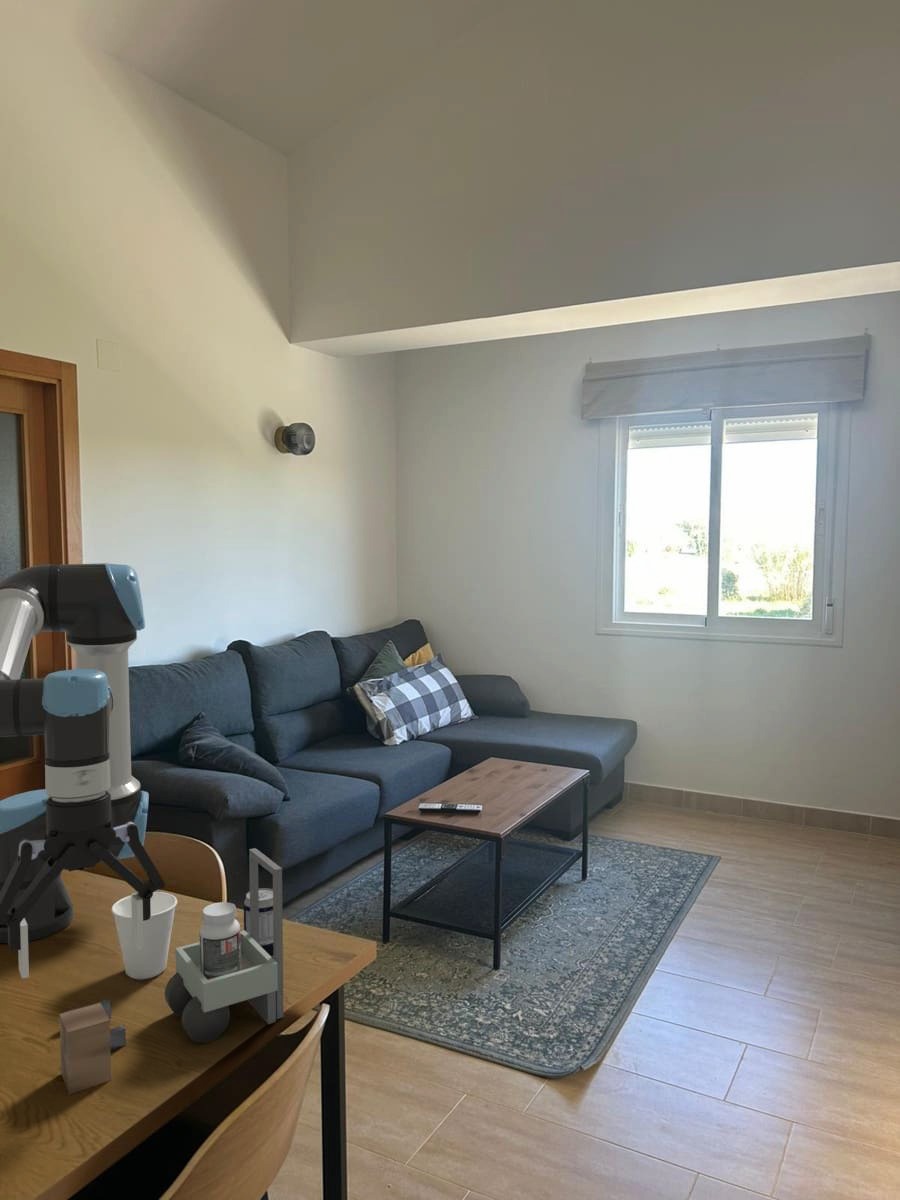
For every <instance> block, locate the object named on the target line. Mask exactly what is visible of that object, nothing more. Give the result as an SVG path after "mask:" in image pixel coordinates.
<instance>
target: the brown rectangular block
mask: <svg viewBox="0 0 900 1200" xmlns="http://www.w3.org/2000/svg"><path fill="white" fill-rule="evenodd" d="M110 1029H111V1021H110V1019H109V1018H108V1016H107V1014H106V1012H105V1010H104V1008H103V1006H102V1004H101V1003H98V1004H94V1005H91V1006H87V1007H84V1008H80V1009H76V1010H73V1011H69V1012H66V1013H65V1012H63V1013H59V1035H60V1036H59V1038H60V1039H59V1040H60V1071H61V1072H60V1074H61V1077H62V1079H63V1082H64V1084H65V1087H66V1090H67V1092H68V1095H71V1094H74V1093H77V1092H80V1091H84V1090H86V1089H89V1088H93V1087H96V1086H99V1085H102V1084H104V1083H107V1082H111V1081H112V1061H111V1059H112V1058H111V1057H112V1055H111V1050H110Z"/></svg>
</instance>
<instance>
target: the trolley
mask: <svg viewBox="0 0 900 1200" xmlns="http://www.w3.org/2000/svg"><path fill="white" fill-rule="evenodd" d="M248 851H249V854H248V860H249V861H248V862H249V863H248V864H249V867H248V869H249V892H250V935H249V934H248V933H247V932H246V931H245V930H244V929H243V930H240V944H241V971H237V972H234V973H230V974H227V975H223V976H220V977H216V978H213V979H209V980H207V979H206V977H205V976H204V975H203V974H202V972H201V971H200V941H197V942H195V943H194V942H193V943H191V944H186V945H182V946H178V947H175V973H174V975H172V977H171V978H170V979H169V980H168V981H167V984H166V987H165V988H164V989H165V990H164V999H165V1002H166V1003H167V1005H168V1007H169V1008H170V1010H171V1011H172V1013H174V1014H175V1015H176V1016H179V1017H181V1025H182V1027H183V1029H184V1031H185V1032H186V1034H187V1035H188V1036H189V1038H190V1039H191V1040H192V1041H194V1042H195V1043H198V1044H208V1043H210V1042H213V1041H215V1040H216V1039H219V1037H220V1036H221V1035H223V1033H224V1032H225V1031H226V1029H227V1027H228V1025H229V1023H230V1019H231V1010H230V1007H229V1006H230V1005H234V1004H238V1003H241V1002H245V1001H247V1003H249V1004H250V1005H251V1006H252V1007H253V1009H254V1010H255V1011H256V1012H257V1013H258V1015H259V1016H260V1017H261V1018H262V1019H263V1020H264V1022H265V1023H266V1024H267V1025H270V1024H274V1023H276V1022H277V1020H279V1019H282V1018H284V1014H285V1013H284V947H283V946H284V945H283V944H284V941H283V940H284V939H283V937H284V935H283V930H284V929H283V927H284V925H283V923H284V922H283V868H282V867H281V866H280V865H278V864H277V863H276V862H274V861H273V860H272V859H270V858H269V857H268V856H267V855H265V854H264V853H263V852H261V851H260V850H259V849H257V848H256V847H255V848H250V849H249V850H248ZM259 865H260V866H262V868H264V869H265V870H266V871H268V872H269V873H270V874H271V875H272V889H273V945H274V959H273V958H272V957H271V956H270V955H269V954H268V953H267V952H266V951H265V950H264V949H263V948H262V947H261V946H260V945H259V891H258V889H259Z"/></svg>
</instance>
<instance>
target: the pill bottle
mask: <svg viewBox="0 0 900 1200" xmlns="http://www.w3.org/2000/svg"><path fill="white" fill-rule="evenodd" d="M236 917H237V907H236V904H234V903H232V902H226V901H225V902H224V901H223V902H215V903H212V904H211V903H210V904H208V905H206V906H205V907H204V908H203V909H202V921H203V923H202V924H201V925H200V928H199V942H200V971H201V972H202V974H203V975H204V976H205V977H206V979H207V980H209V979H213V978H216V977H220V976H223V975H227V974H230V973H234V972H237V971H241V944H240V931H241V927H240V926H241V925H240V922H239V921H238V920H237V919H236Z"/></svg>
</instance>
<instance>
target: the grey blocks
mask: <svg viewBox="0 0 900 1200" xmlns="http://www.w3.org/2000/svg"><path fill="white" fill-rule="evenodd" d="M98 1003H101V1004H102V1006H103V1008H104V1010H105V1012H106V1014H107V1016H108V1018H109V1020H110V1019H112V1002H111V999H109V998H108V999H104V1000H102V1001H101V1000H100V1001H97V1002H93V1003H90V1004H87V1005H83V1006H79V1007H76V1008H73V1009H69V1010H65V1011H64V1013H66V1012H69V1011H73V1010H76V1009H80V1008H84V1007H87V1006H91V1005H94V1004H98ZM126 1035H127V1034H126V1027H125V1025H119V1026H115V1027H113V1028H110V1051H112V1050H115V1049H116V1050H117V1049H119V1048H122V1047H126V1045H127V1044H126V1042H127V1041H126Z"/></svg>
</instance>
